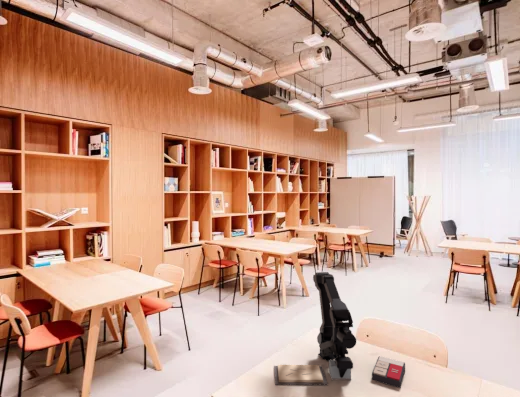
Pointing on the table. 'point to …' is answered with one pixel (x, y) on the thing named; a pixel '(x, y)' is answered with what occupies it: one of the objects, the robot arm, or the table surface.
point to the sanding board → (299, 375)
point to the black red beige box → (389, 371)
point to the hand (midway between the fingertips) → (339, 373)
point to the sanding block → (335, 372)
